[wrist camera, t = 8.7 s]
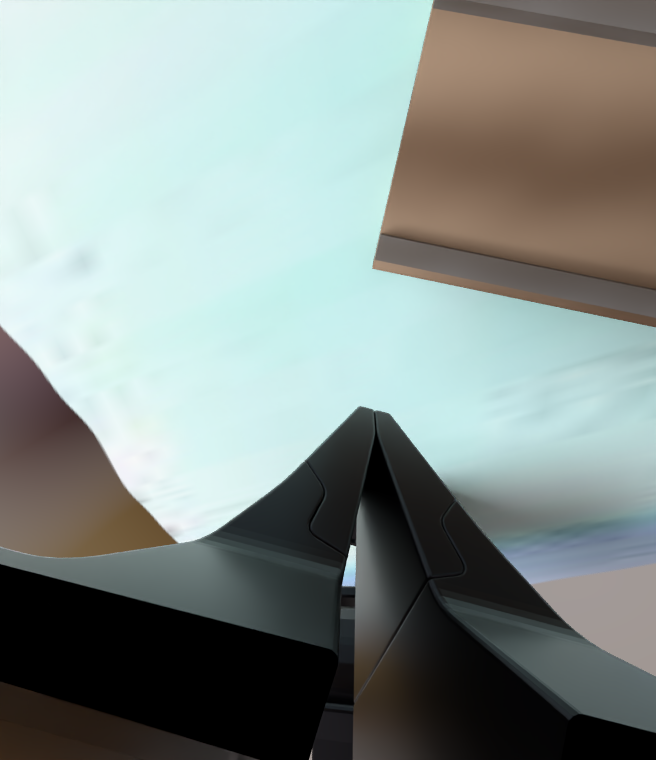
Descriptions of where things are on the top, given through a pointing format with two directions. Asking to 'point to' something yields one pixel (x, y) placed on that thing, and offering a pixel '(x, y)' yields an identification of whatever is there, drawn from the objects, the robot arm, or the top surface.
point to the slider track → (532, 155)
